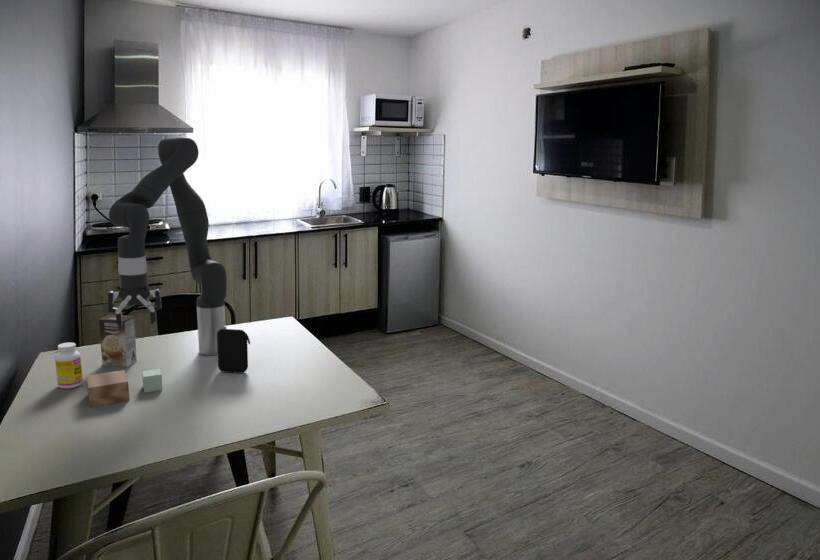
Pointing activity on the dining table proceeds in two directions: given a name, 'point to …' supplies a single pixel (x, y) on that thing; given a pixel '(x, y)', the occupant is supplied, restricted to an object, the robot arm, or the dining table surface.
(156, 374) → the sage cube
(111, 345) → the coffee box
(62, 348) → the supplement bottle
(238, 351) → the carrying case or bag
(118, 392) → the walnut block
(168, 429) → the dining table surface
